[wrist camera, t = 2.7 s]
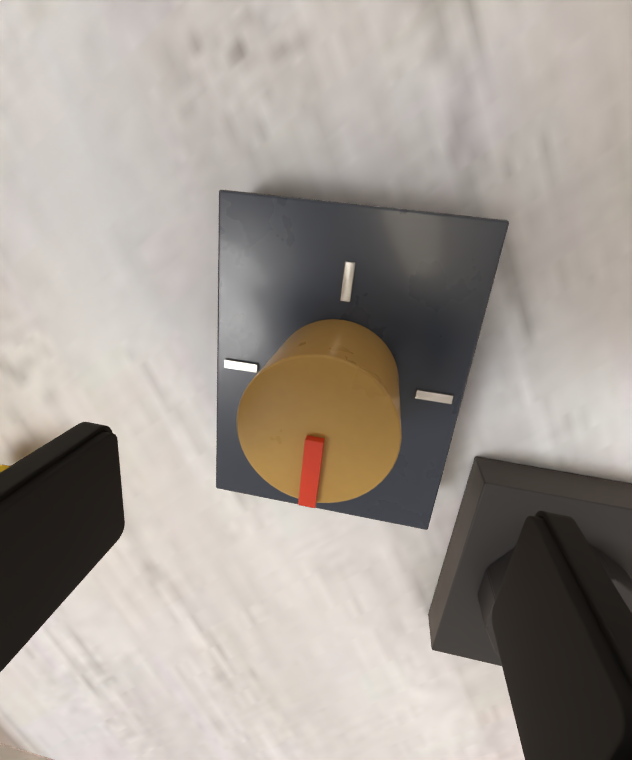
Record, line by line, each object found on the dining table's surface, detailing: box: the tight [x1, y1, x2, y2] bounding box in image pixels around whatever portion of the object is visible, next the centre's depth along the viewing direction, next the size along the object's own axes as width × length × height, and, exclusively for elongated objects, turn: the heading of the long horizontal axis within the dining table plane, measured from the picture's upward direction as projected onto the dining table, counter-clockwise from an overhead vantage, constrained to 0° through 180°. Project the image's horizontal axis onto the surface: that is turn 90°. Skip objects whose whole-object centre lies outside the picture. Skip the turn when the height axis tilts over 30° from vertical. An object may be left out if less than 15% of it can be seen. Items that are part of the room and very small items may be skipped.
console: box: [216, 190, 509, 530], centre depth 18 cm, size 13×10×3 cm
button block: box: [428, 457, 632, 666], centre depth 19 cm, size 11×9×4 cm
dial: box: [237, 319, 402, 508], centre depth 14 cm, size 5×5×5 cm
